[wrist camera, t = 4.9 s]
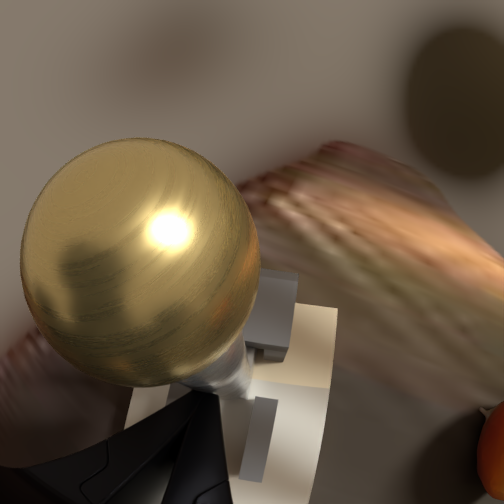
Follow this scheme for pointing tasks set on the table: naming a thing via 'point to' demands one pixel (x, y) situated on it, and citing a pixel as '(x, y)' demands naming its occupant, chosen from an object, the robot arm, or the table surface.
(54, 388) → the table surface
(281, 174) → the table surface
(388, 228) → the table surface
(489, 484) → the fruit
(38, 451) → the table surface
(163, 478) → the robot arm
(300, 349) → the board
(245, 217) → the gold knob lever
